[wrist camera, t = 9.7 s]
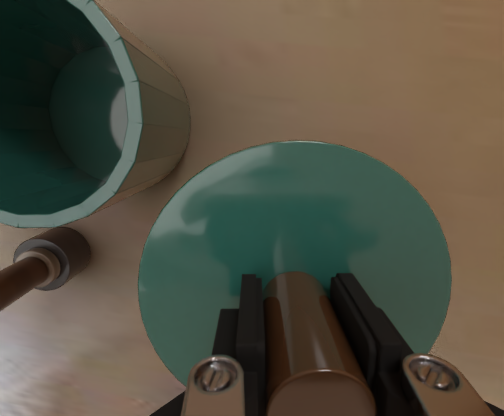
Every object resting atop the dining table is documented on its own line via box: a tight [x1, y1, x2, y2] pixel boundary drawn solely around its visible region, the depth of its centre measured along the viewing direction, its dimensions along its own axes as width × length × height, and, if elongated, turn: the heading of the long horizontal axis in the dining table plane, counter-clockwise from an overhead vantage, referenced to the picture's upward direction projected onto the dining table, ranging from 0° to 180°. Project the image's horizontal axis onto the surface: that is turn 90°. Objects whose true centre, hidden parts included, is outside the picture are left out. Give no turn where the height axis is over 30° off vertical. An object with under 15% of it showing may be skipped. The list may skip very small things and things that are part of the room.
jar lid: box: [138, 140, 452, 416], centre depth 10 cm, size 12×12×6 cm
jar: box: [0, 0, 190, 228], centre depth 18 cm, size 11×11×10 cm
